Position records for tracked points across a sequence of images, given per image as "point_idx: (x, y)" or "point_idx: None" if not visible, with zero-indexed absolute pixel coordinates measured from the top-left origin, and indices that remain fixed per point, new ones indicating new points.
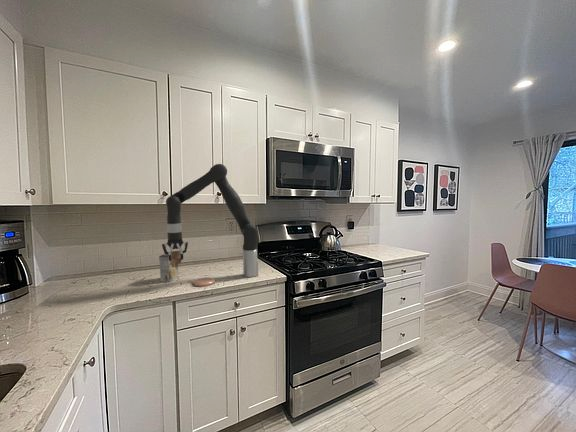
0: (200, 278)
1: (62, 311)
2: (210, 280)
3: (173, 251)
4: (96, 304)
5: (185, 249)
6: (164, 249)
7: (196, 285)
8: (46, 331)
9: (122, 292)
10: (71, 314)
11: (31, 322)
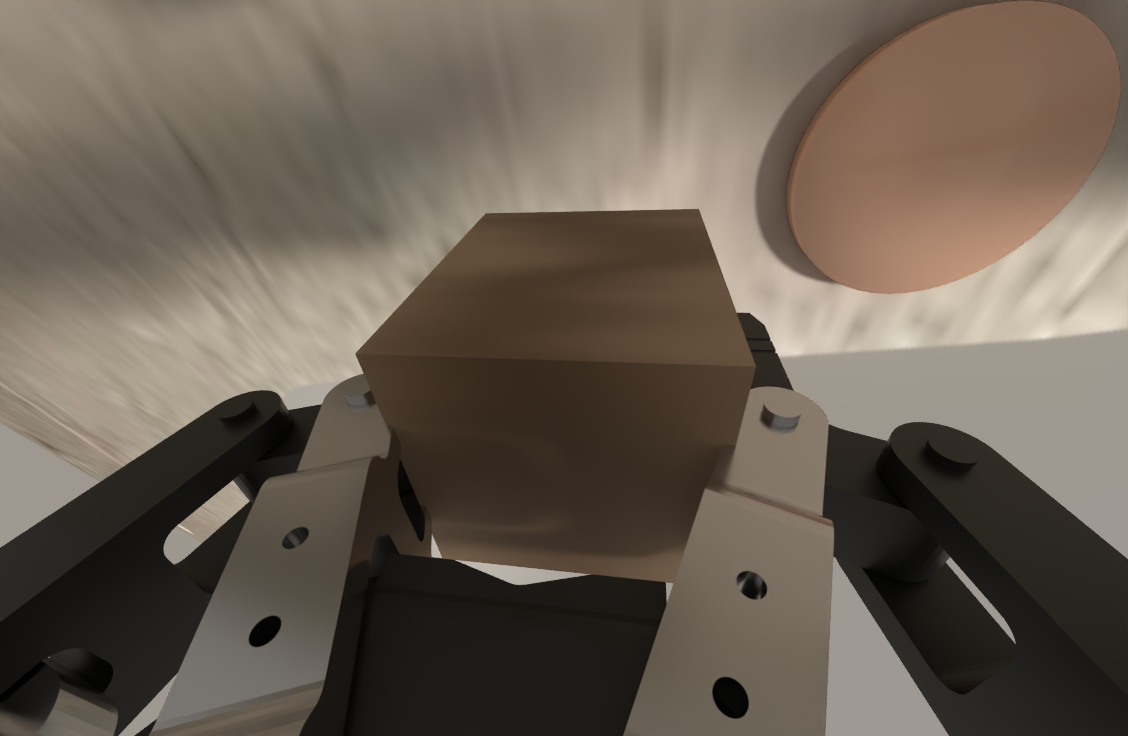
0: (942, 35)
1: (92, 383)
2: (1015, 194)
3: (452, 398)
4: (182, 355)
5: (936, 647)
6: (182, 627)
7: (804, 251)
8: (226, 511)
9: (165, 181)
10: (174, 426)
11: (88, 440)
